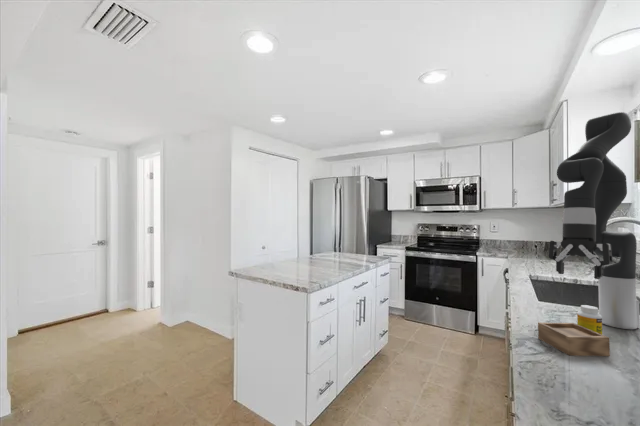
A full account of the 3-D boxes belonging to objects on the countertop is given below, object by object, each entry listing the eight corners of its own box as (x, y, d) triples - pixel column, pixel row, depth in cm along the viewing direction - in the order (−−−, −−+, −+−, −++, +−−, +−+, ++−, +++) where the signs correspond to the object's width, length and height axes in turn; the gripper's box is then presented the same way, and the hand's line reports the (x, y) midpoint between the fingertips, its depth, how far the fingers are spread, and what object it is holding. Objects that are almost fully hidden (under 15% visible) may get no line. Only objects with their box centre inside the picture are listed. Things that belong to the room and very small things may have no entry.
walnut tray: (573, 338, 87) (573, 322, 87) (609, 356, 76) (609, 337, 76) (538, 338, 87) (538, 322, 87) (569, 355, 76) (568, 337, 76)
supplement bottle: (599, 345, 83) (599, 310, 83) (575, 338, 87) (574, 305, 87) (604, 341, 86) (604, 307, 86) (580, 334, 90) (580, 303, 91)
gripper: (616, 224, 81) (615, 280, 80) (556, 223, 94) (555, 272, 93) (606, 222, 77) (605, 281, 76) (545, 222, 90) (544, 272, 89)
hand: (578, 276), depth 85 cm, fingers open, 8 cm apart
